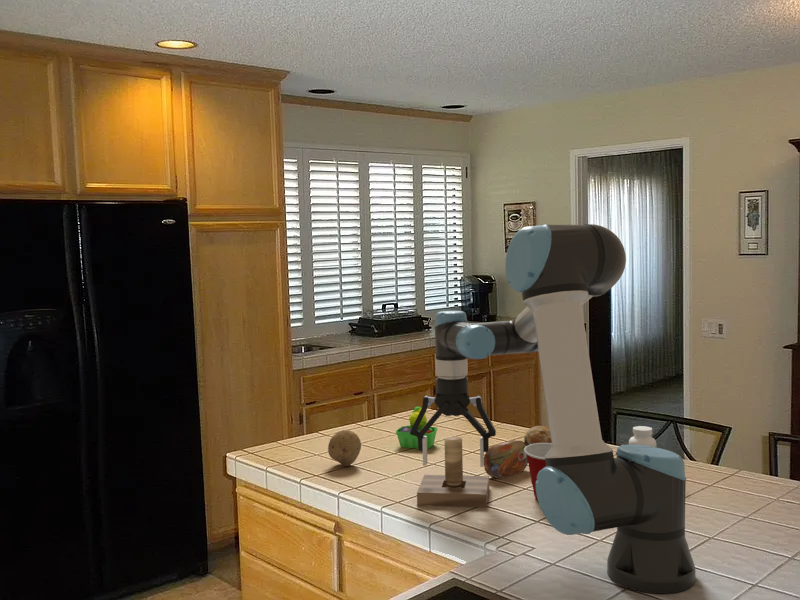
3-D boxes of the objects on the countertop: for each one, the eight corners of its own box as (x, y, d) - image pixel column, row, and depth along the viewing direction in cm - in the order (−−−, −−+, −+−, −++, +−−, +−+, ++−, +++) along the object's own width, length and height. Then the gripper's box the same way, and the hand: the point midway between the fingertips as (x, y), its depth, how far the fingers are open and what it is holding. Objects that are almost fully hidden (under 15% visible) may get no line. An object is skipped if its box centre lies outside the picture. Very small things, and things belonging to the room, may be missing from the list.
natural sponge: (346, 472, 210) (345, 436, 209) (321, 467, 215) (320, 431, 214) (368, 464, 217) (367, 429, 216) (343, 459, 222) (342, 425, 222)
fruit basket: (395, 448, 234) (394, 410, 233) (403, 441, 242) (402, 404, 241) (432, 450, 230) (431, 412, 229) (439, 442, 239) (438, 406, 238)
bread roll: (522, 456, 235) (512, 433, 233) (548, 437, 239) (538, 415, 237) (542, 464, 226) (532, 441, 224) (568, 445, 230) (558, 421, 228)
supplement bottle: (626, 480, 198) (625, 429, 197) (631, 473, 203) (631, 424, 202) (653, 483, 194) (653, 432, 194) (658, 476, 200) (658, 426, 199)
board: (486, 507, 180) (486, 494, 180) (417, 505, 183) (416, 492, 183) (489, 488, 194) (488, 476, 194) (424, 486, 197) (424, 474, 196)
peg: (462, 499, 186) (461, 441, 185) (444, 499, 187) (443, 440, 186) (463, 493, 190) (462, 436, 189) (446, 493, 191) (445, 436, 190)
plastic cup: (536, 508, 178) (535, 456, 177) (517, 494, 189) (516, 445, 188) (579, 503, 181) (579, 452, 180) (558, 489, 192) (557, 441, 191)
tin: (490, 481, 199) (490, 449, 199) (481, 479, 202) (481, 446, 201) (530, 469, 209) (530, 438, 208) (521, 467, 211) (521, 436, 211)
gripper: (505, 373, 188) (506, 461, 190) (402, 373, 192) (404, 459, 194) (504, 379, 181) (506, 470, 182) (397, 379, 185) (399, 467, 186)
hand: (453, 464), depth 188 cm, fingers open, 13 cm apart
